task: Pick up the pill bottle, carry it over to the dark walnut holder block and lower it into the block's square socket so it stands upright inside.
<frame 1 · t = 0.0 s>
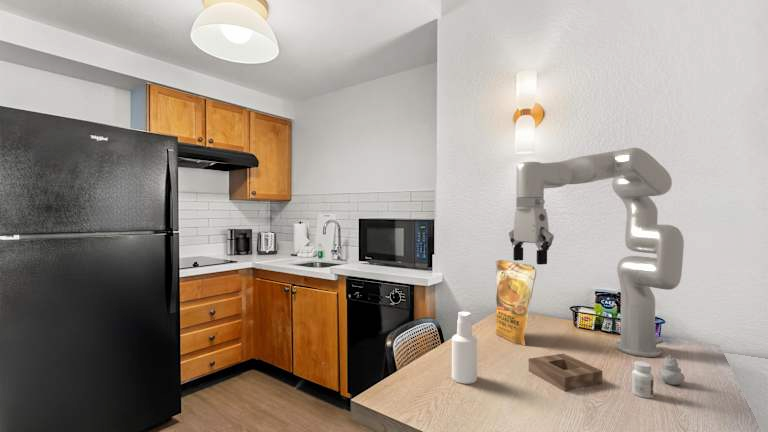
hand: (529, 262, 106), 31 cm above the table, tool pointing down, fingers open, 9 cm apart
pill bottle: (642, 395, 91), on the table
pancake mix bag: (511, 338, 133), on the table
holder block: (564, 377, 100), on the table
spray bottle: (464, 379, 99), on the table
grey swirl figurine: (671, 383, 97), on the table
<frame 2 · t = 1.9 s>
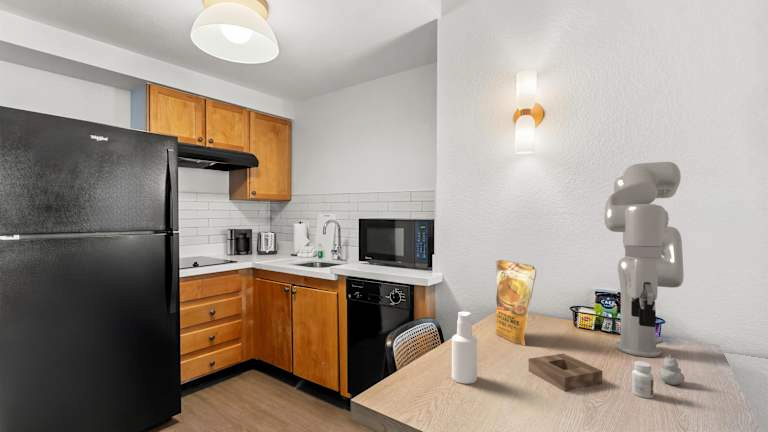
hand: (642, 321, 91), 18 cm above the table, tool pointing down, fingers open, 9 cm apart
nothing on the table moved.
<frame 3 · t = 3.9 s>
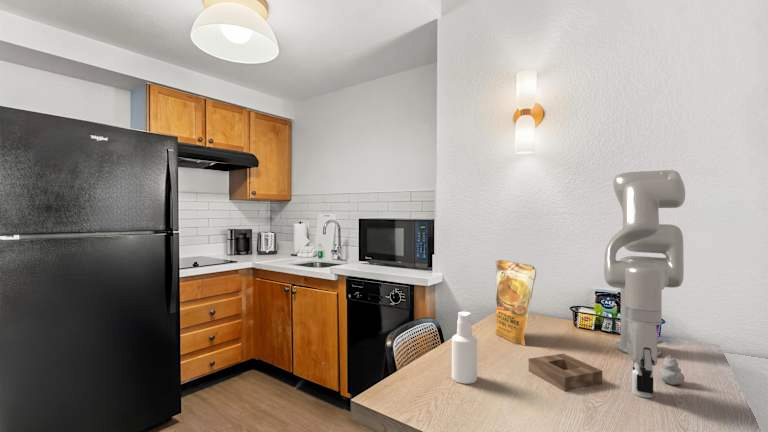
hand: (642, 386, 91), 2 cm above the table, tool pointing down, fingers closed on pill bottle, 4 cm apart
pill bottle: (642, 395, 91), on the table, touching gripper
everything else where it was.
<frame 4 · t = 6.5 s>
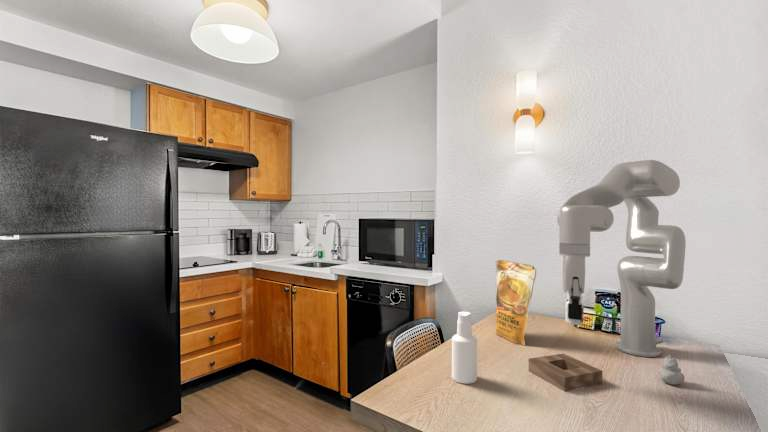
hand: (574, 315, 99), 17 cm above the table, tool pointing down, fingers closed on pill bottle, 4 cm apart
pill bottle: (574, 323, 99), point 15 cm above the table, touching gripper
everything else where it was.
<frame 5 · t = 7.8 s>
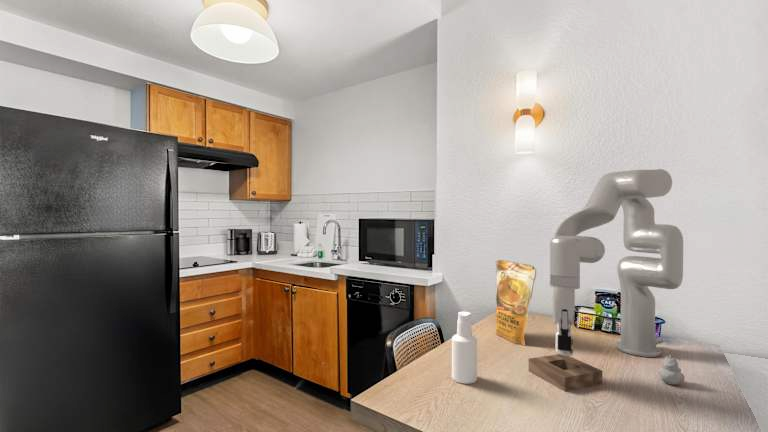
hand: (564, 346, 100), 8 cm above the table, tool pointing down, fingers closed on pill bottle, 4 cm apart
pill bottle: (564, 354, 100), point 6 cm above the table, touching gripper
everything else where it was.
when the fingers open (5 cm above the table, at t = 9.0 s): pill bottle drops 3 cm, resting in holder block.
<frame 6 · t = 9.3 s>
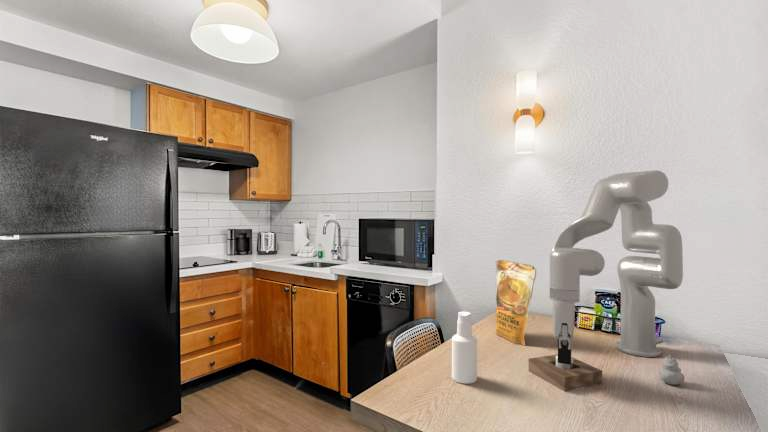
hand: (564, 357, 100), 5 cm above the table, tool pointing down, fingers open, 7 cm apart
pill bottle: (564, 377, 100), resting in holder block
everything else where it was.
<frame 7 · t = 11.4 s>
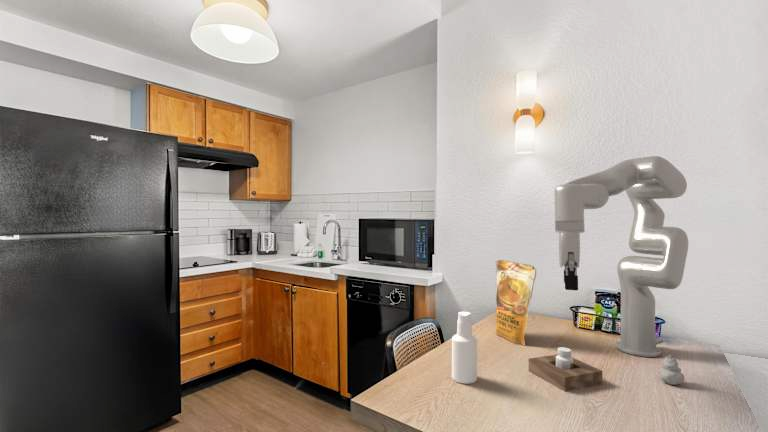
hand: (570, 286, 104), 25 cm above the table, tool pointing down, fingers open, 9 cm apart
nothing on the table moved.
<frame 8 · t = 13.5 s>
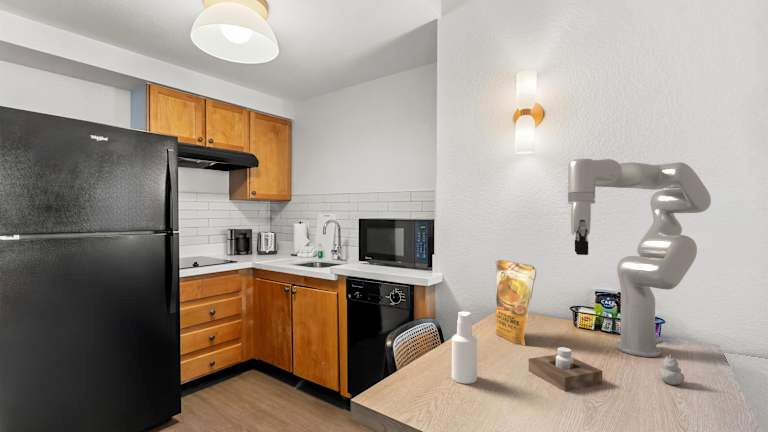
hand: (581, 253, 113), 33 cm above the table, tool pointing down, fingers open, 9 cm apart
nothing on the table moved.
at the end: pill bottle 0.2 cm off-centre on the holder block, point 0.0 cm above the holder block's base; pill bottle tilted 0°; the gripper is holding nothing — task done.
